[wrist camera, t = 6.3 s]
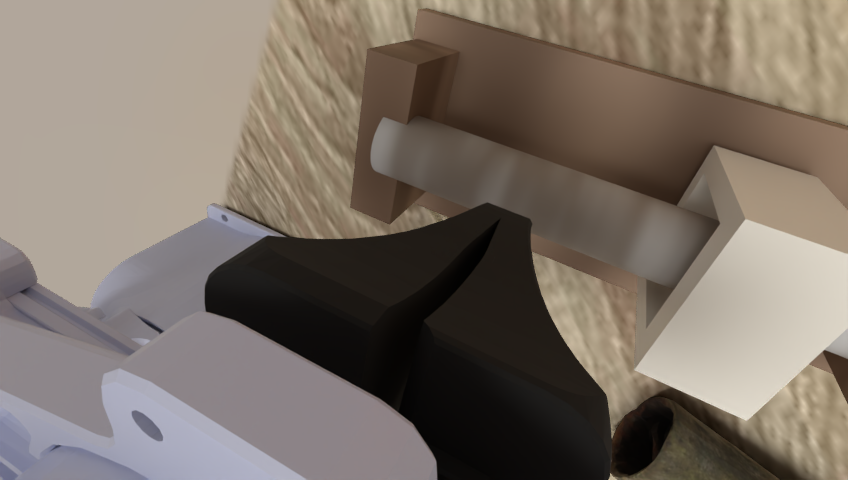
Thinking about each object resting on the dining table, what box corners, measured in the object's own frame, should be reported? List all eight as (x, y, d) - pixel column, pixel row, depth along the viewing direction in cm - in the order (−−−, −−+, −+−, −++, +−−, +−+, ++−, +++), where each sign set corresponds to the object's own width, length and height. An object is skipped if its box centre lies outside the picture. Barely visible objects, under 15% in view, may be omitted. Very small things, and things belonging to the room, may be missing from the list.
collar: (638, 268, 17) (633, 369, 12) (713, 145, 14) (745, 218, 9) (719, 300, 16) (746, 420, 12) (817, 177, 13) (905, 274, 9)
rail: (395, 186, 21) (333, 234, 17) (426, 8, 17) (352, 14, 13) (851, 370, 16) (921, 500, 12) (1068, 188, 12) (1298, 295, 8)
